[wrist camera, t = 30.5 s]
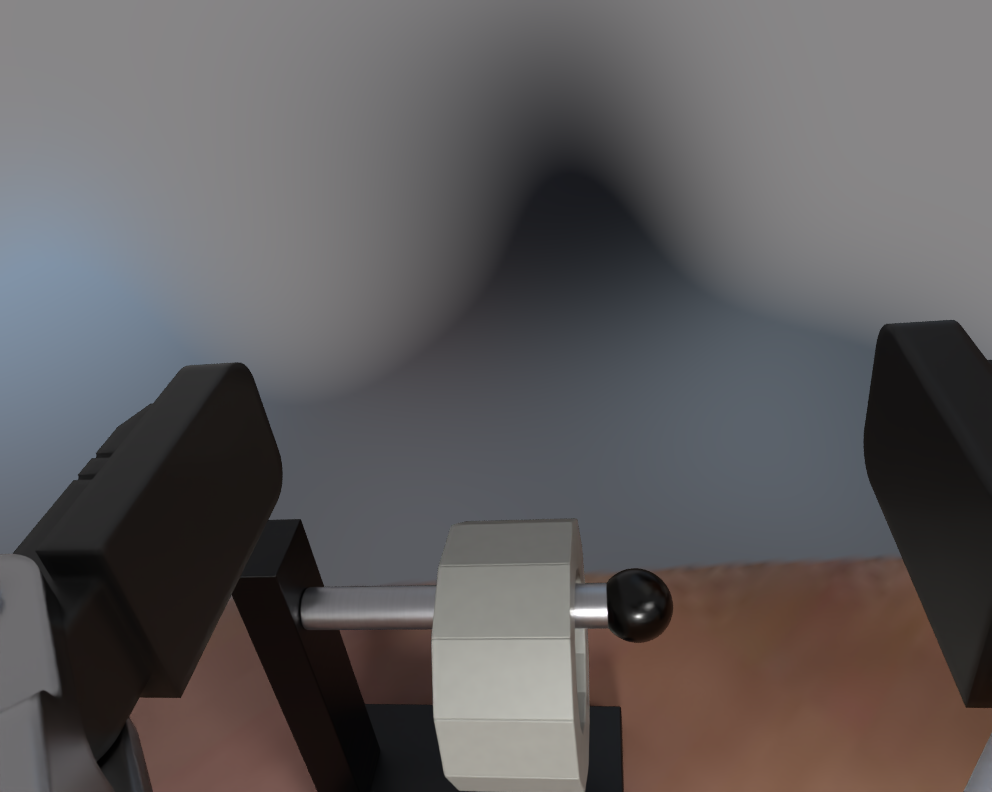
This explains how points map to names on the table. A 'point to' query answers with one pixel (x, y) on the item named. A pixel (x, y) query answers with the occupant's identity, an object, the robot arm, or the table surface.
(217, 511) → the robot arm
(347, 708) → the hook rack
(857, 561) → the table surface
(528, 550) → the tape roll
